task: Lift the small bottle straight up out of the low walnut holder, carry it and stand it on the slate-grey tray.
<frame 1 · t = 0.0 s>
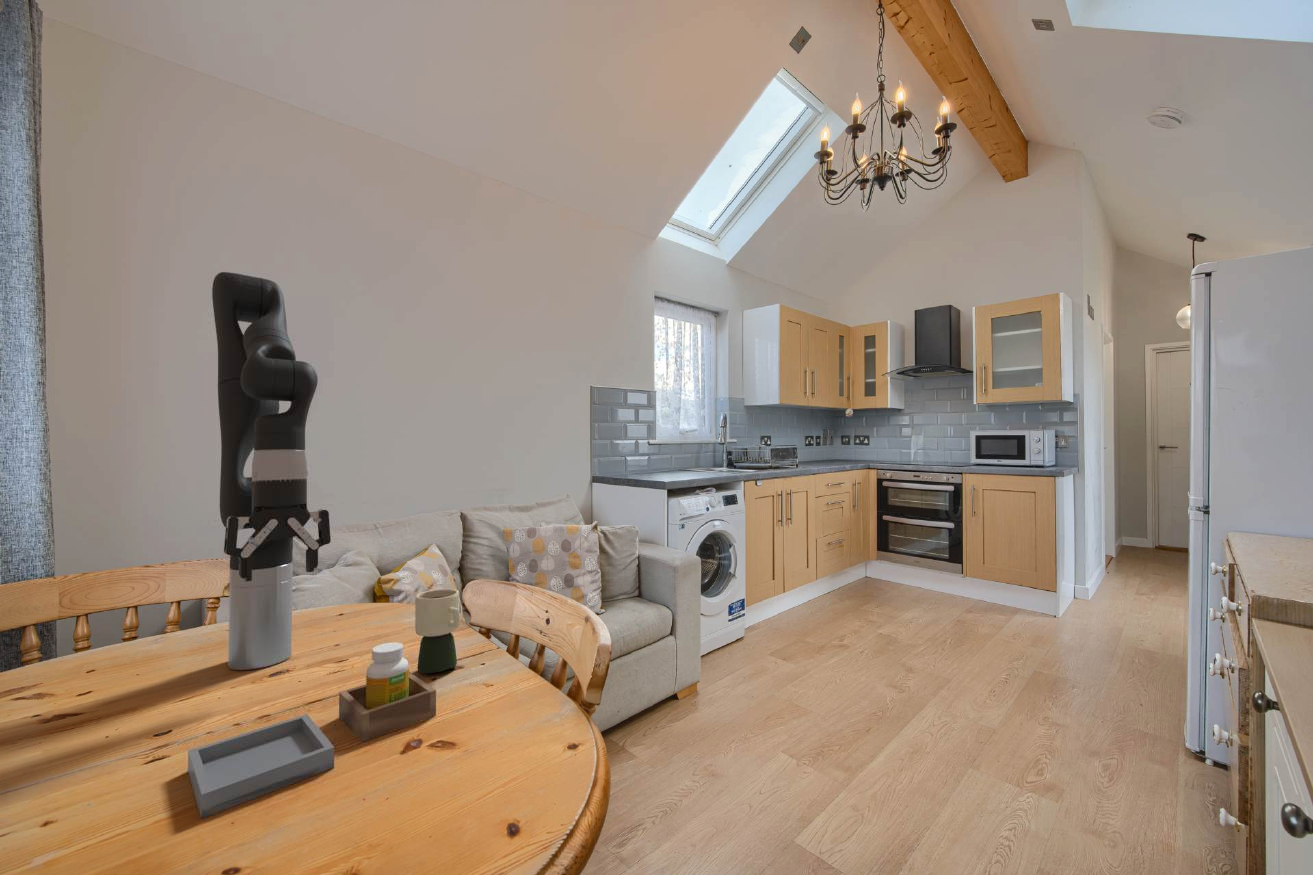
hand: (279, 576, 88), 17 cm above the table, tool pointing down, fingers open, 8 cm apart
character mug: (437, 671, 92), on the table
supplement bottle: (387, 718, 75), resting in holder
holder: (387, 716, 75), on the table
tray: (261, 769, 63), on the table
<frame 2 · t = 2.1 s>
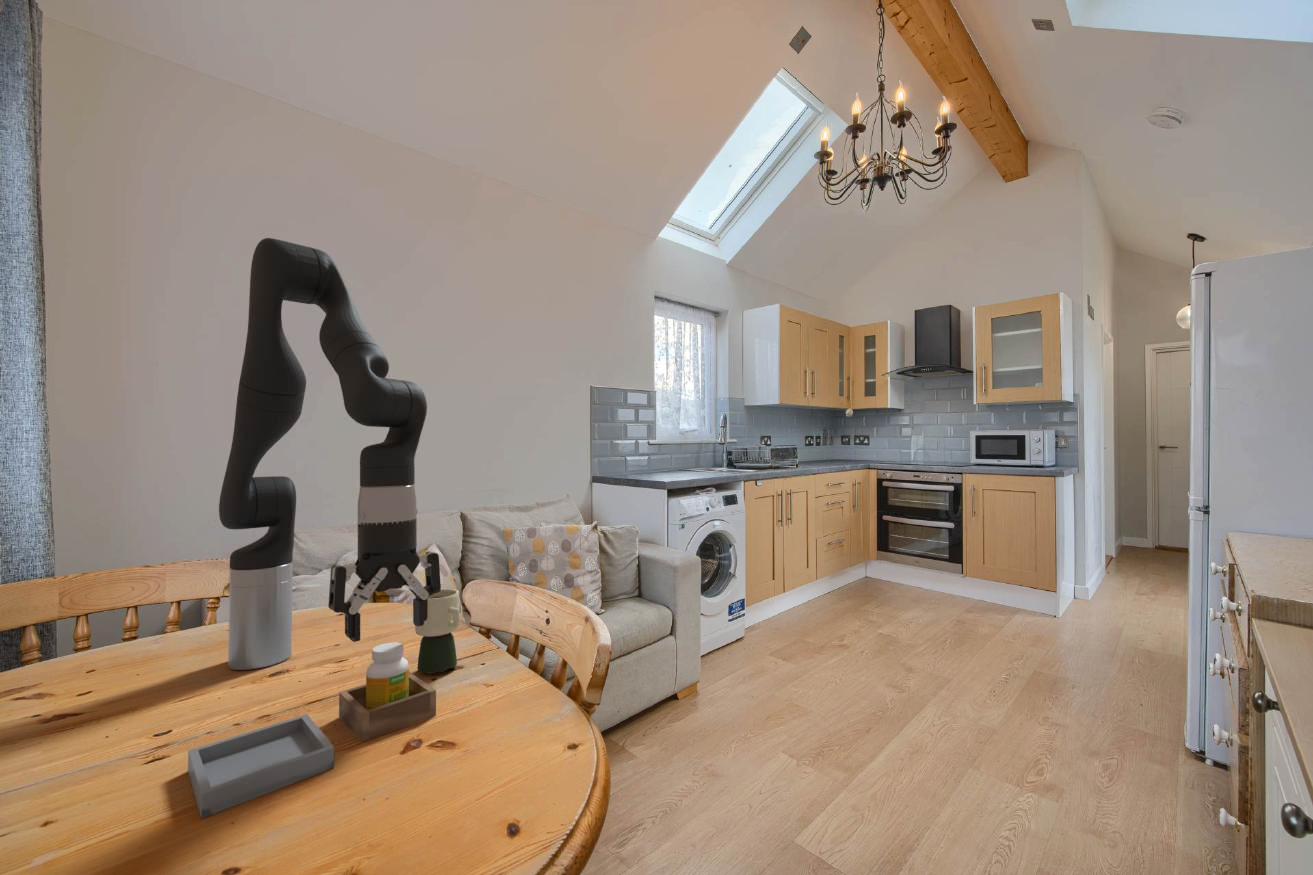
hand: (387, 632, 76), 12 cm above the table, tool pointing down, fingers open, 8 cm apart
nothing on the table moved.
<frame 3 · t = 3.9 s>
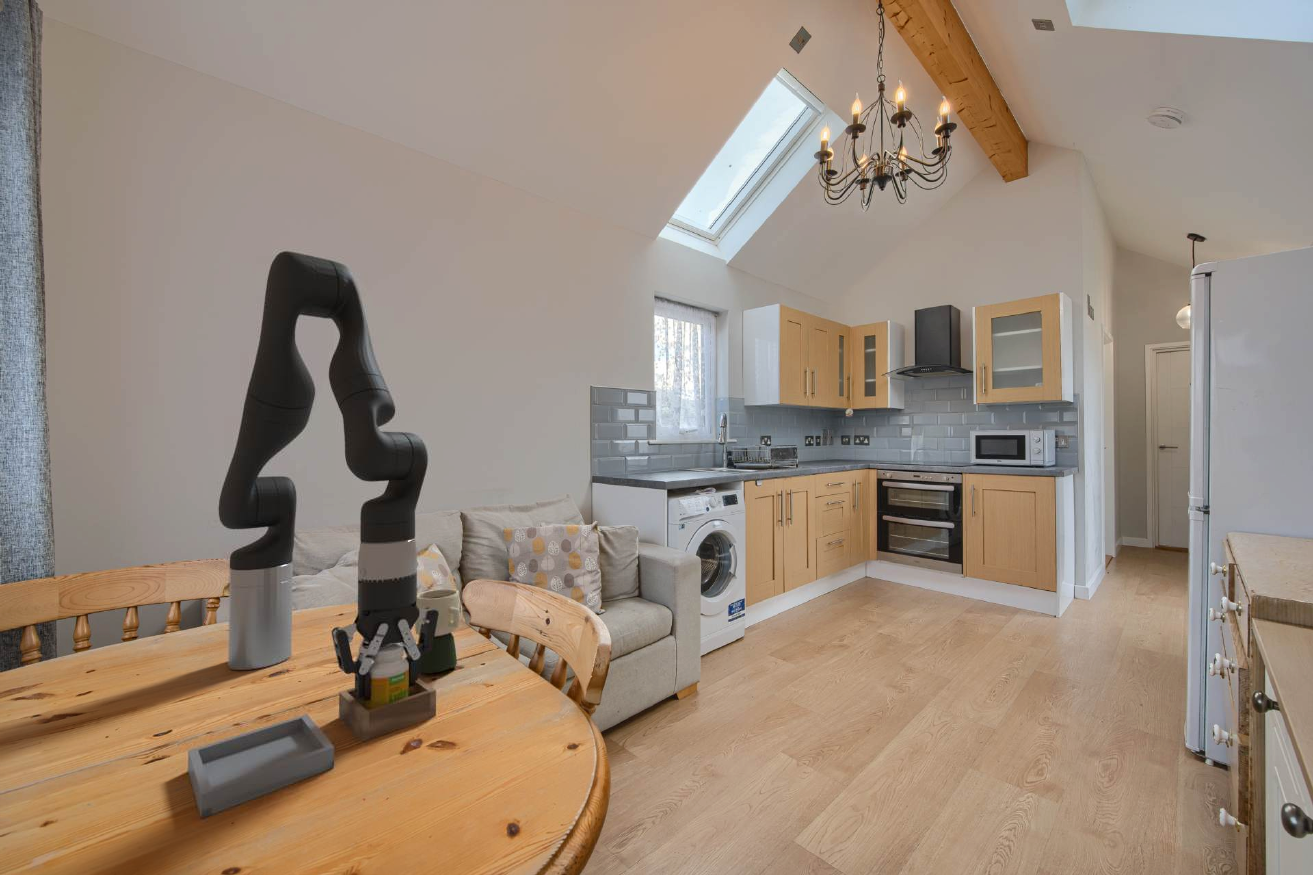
hand: (387, 691, 76), 3 cm above the table, tool pointing down, fingers closed on supplement bottle, 5 cm apart
supplement bottle: (387, 717, 75), resting in holder, touching gripper
everything else where it was.
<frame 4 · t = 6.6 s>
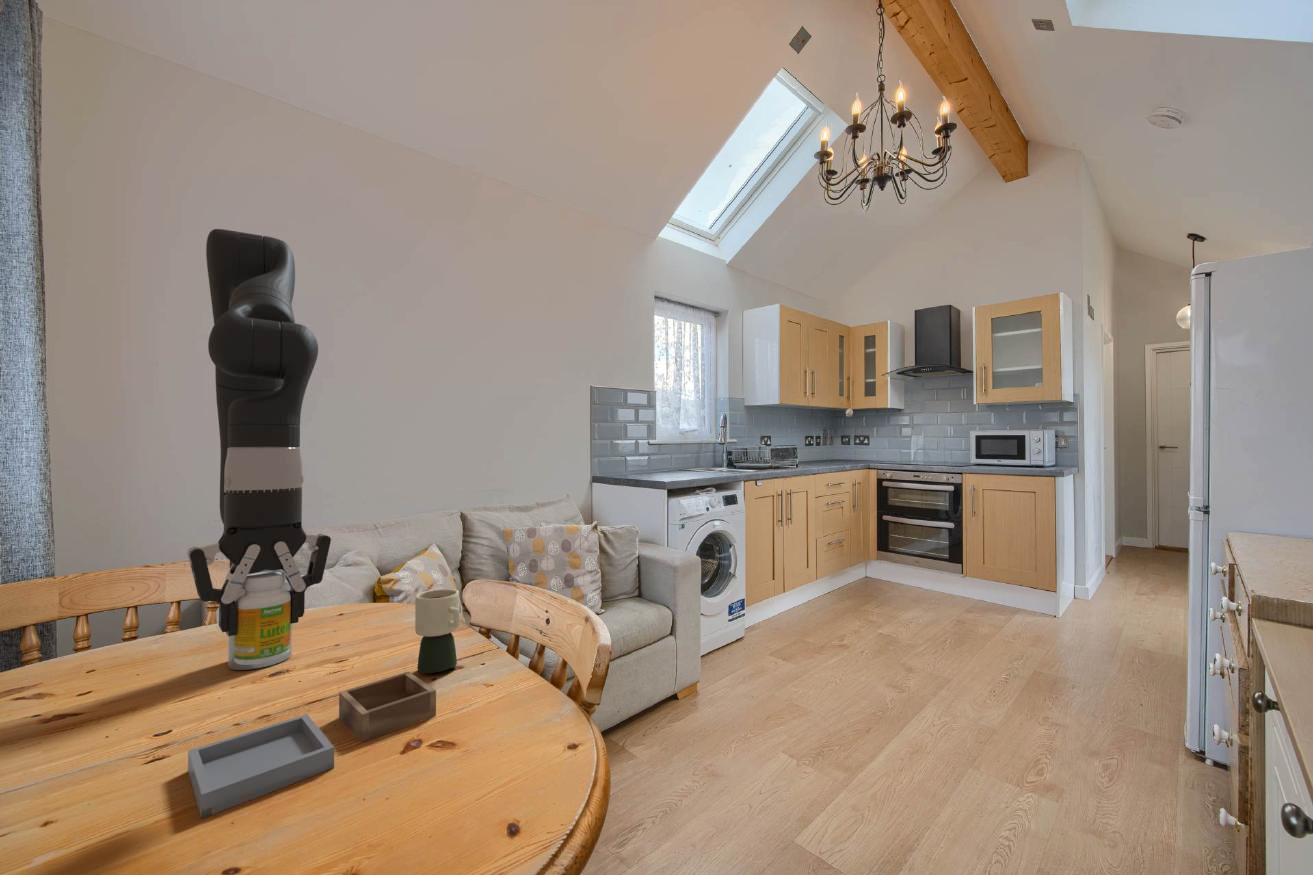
hand: (262, 627, 64), 17 cm above the table, tool pointing down, fingers closed on supplement bottle, 5 cm apart
supplement bottle: (262, 659, 63), point 13 cm above the table, touching gripper
everything else where it was.
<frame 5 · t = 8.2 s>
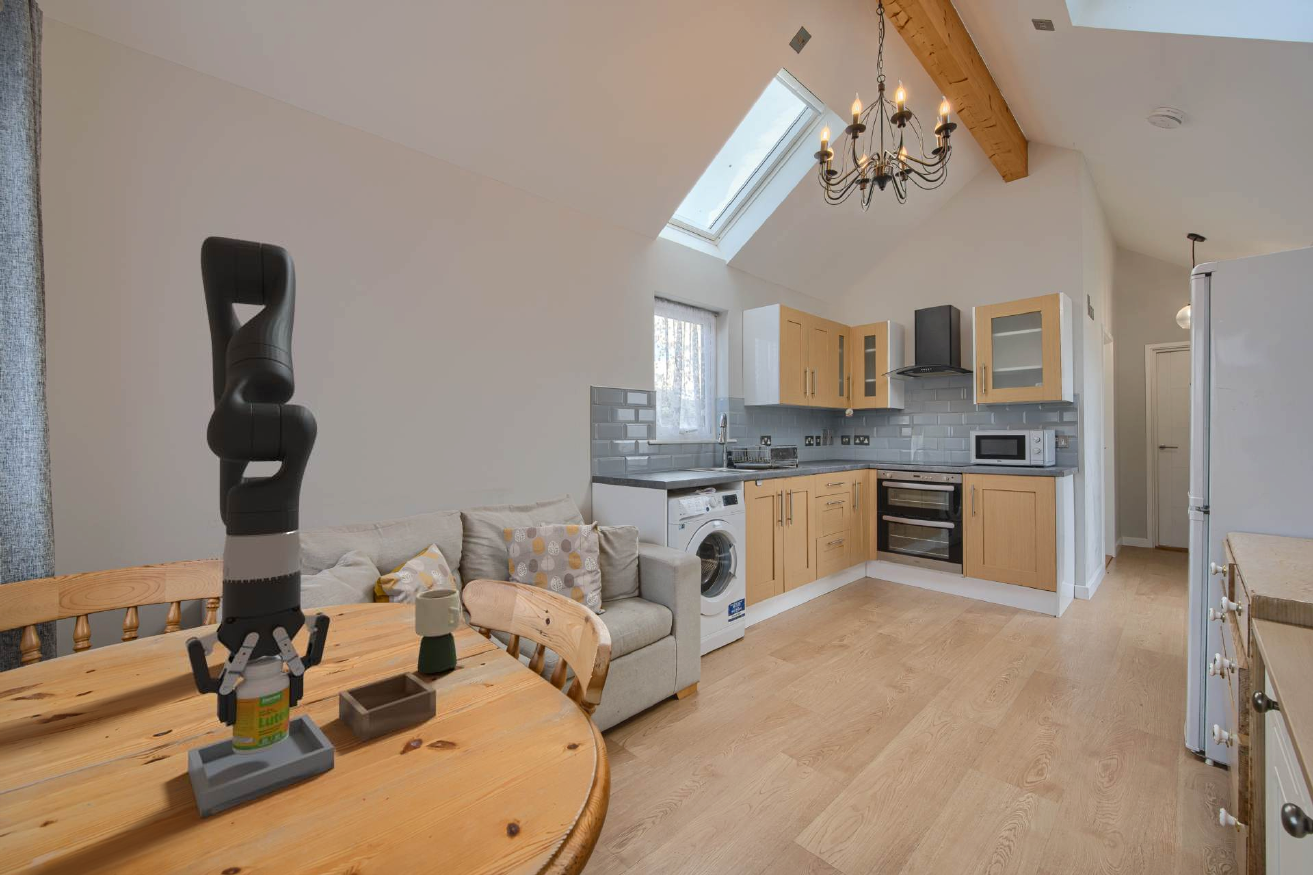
hand: (261, 713, 63), 6 cm above the table, tool pointing down, fingers closed on supplement bottle, 5 cm apart
supplement bottle: (261, 745, 63), point 3 cm above the table, touching gripper
everything else where it was.
when the fingers open (5 cm above the table, at t = 9.4 s): supplement bottle drops 1 cm, resting on tray.
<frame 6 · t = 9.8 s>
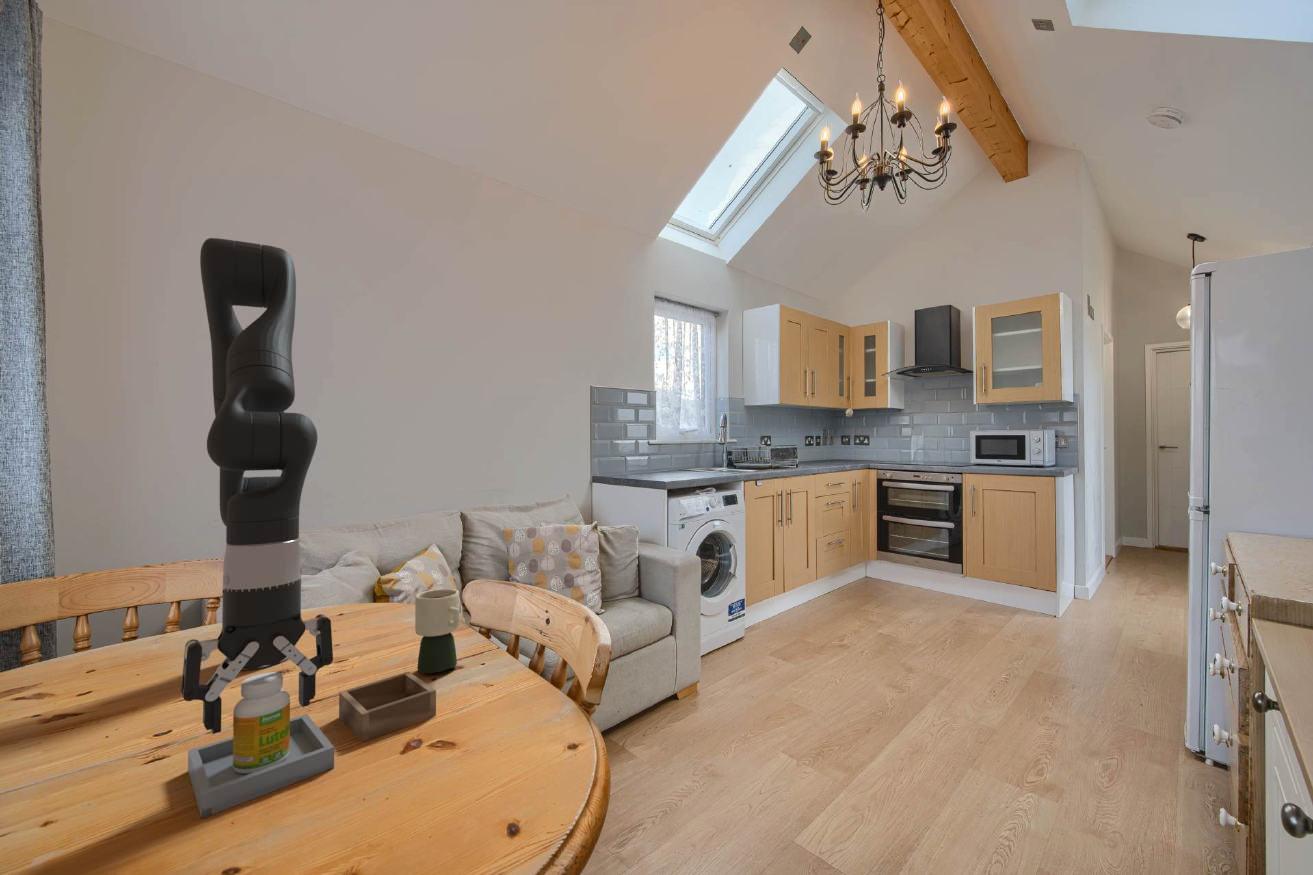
hand: (261, 717, 63), 6 cm above the table, tool pointing down, fingers open, 8 cm apart
supplement bottle: (261, 763, 63), point 1 cm above the table, touching tray
everything else where it was.
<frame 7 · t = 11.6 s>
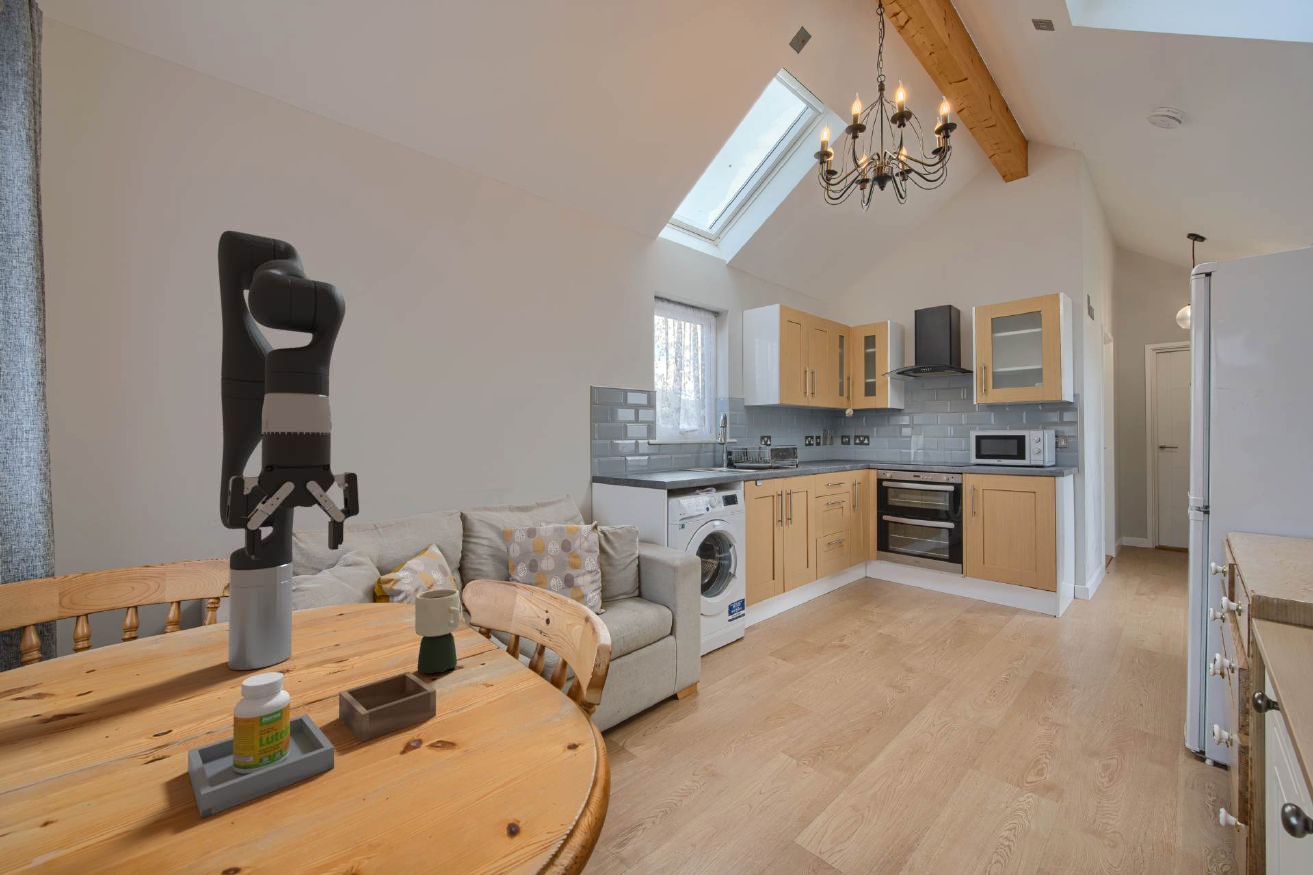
hand: (296, 553, 70), 24 cm above the table, tool pointing down, fingers open, 8 cm apart
nothing on the table moved.
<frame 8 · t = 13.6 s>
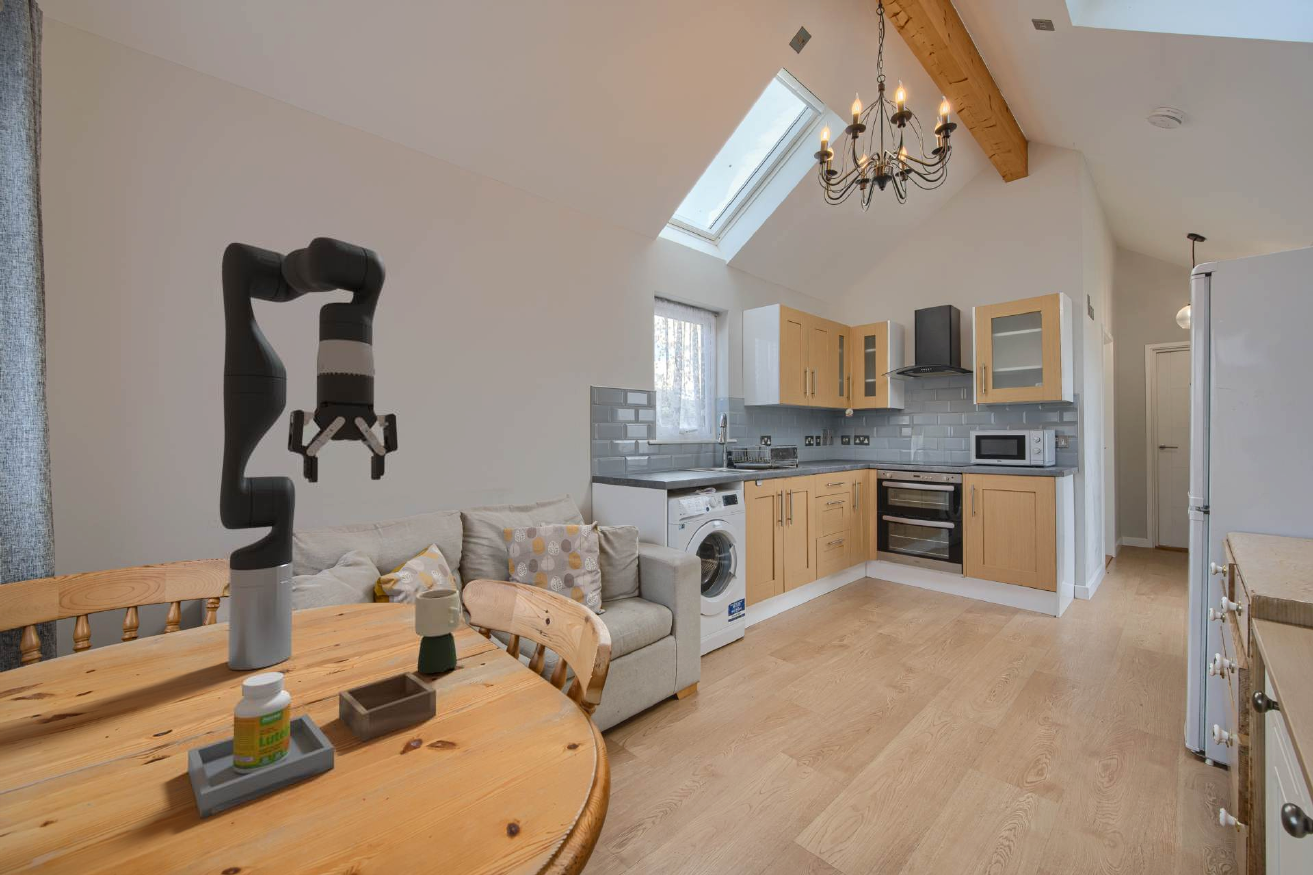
hand: (345, 481, 81), 33 cm above the table, tool pointing down, fingers open, 8 cm apart
nothing on the table moved.
at the end: supplement bottle inside the target area on the tray (0.1 cm from its centre), point 0.6 cm above the tray's base; supplement bottle tilted 0°; the gripper is holding nothing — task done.
